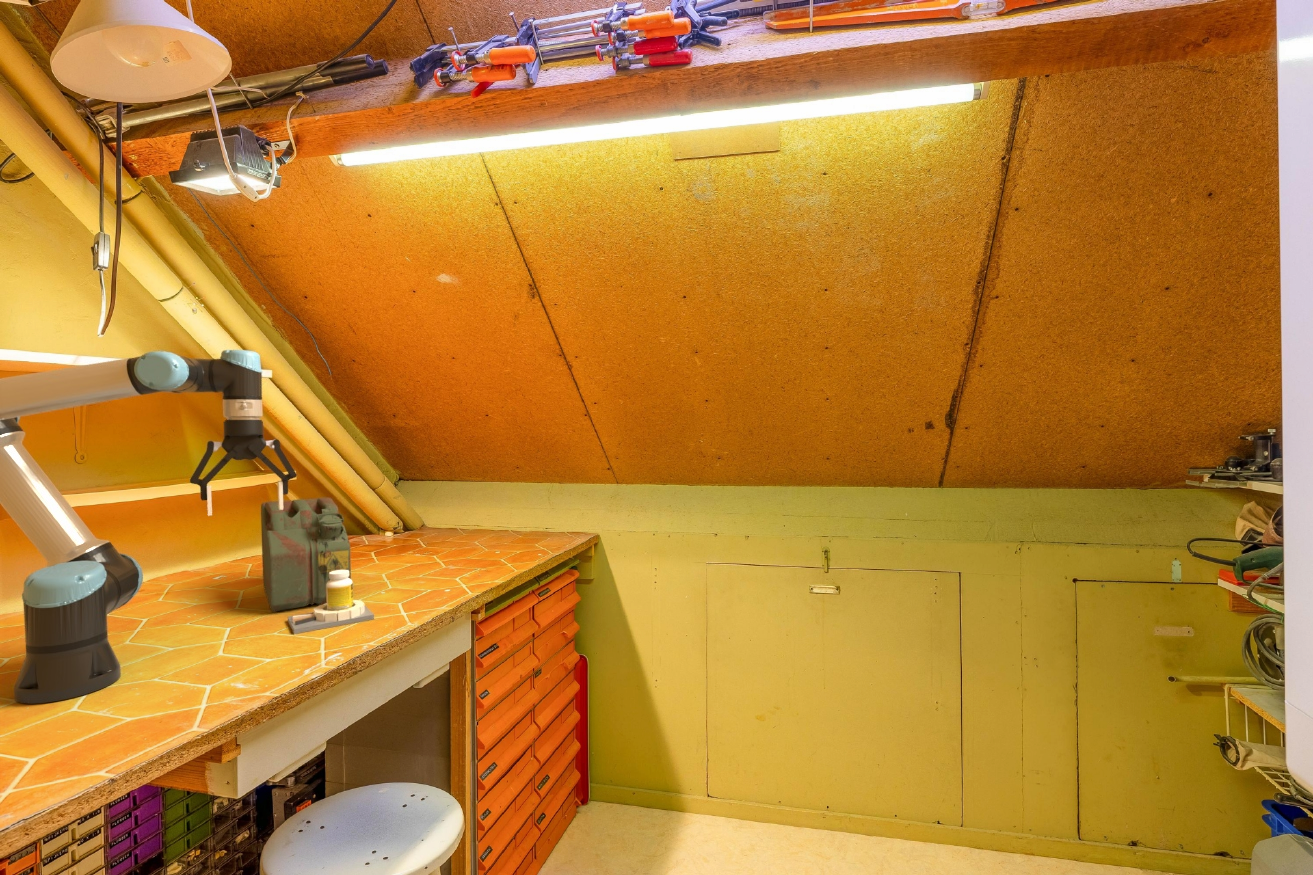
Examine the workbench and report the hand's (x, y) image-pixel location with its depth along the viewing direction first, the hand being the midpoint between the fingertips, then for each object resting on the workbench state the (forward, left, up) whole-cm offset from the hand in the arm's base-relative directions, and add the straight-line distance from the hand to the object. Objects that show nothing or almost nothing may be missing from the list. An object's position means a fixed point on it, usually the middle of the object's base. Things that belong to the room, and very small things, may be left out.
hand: (246, 512), depth 143 cm
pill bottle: (+20, +8, -30) cm, 37 cm away
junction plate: (+18, +8, -31) cm, 36 cm away
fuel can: (+16, +39, -31) cm, 52 cm away
